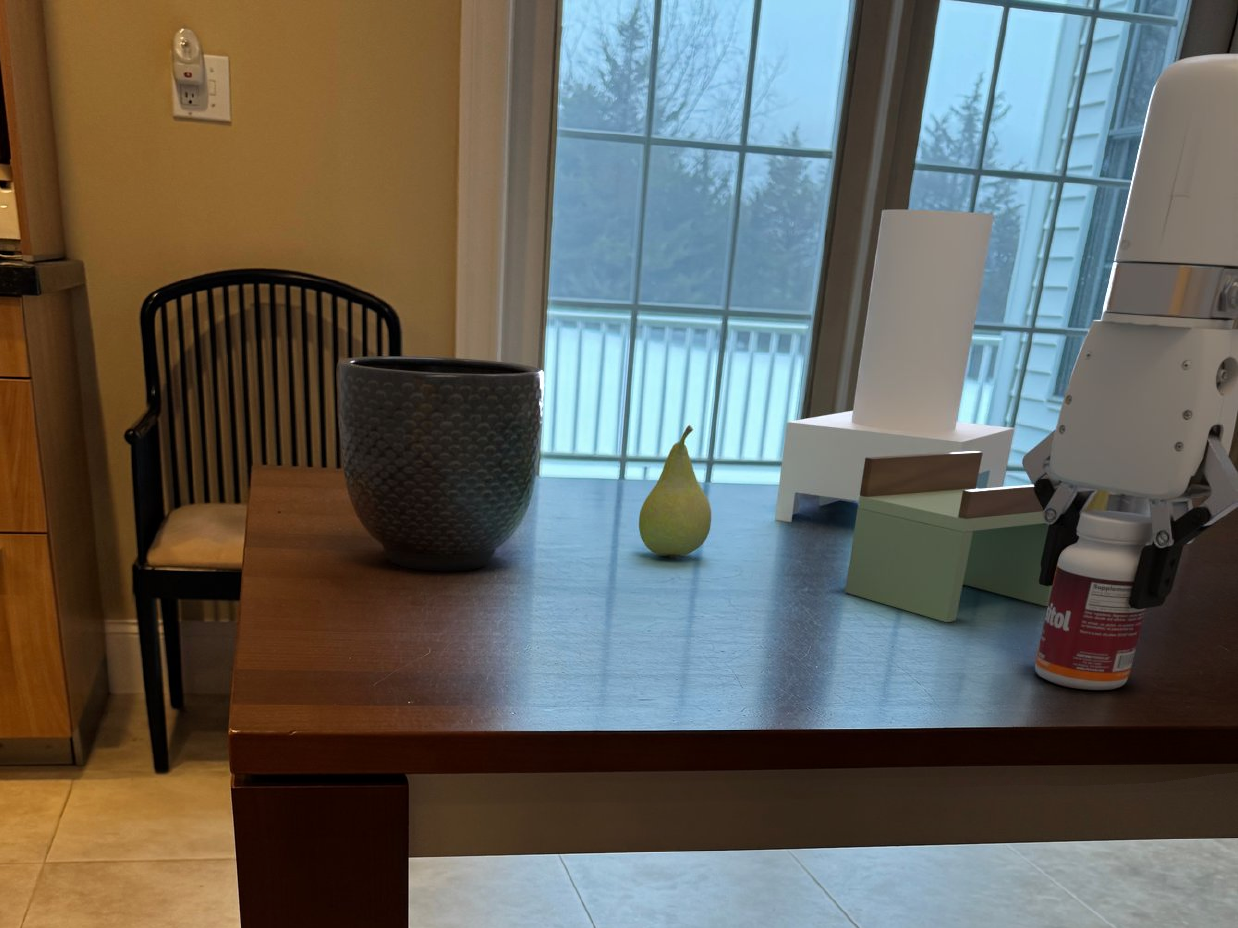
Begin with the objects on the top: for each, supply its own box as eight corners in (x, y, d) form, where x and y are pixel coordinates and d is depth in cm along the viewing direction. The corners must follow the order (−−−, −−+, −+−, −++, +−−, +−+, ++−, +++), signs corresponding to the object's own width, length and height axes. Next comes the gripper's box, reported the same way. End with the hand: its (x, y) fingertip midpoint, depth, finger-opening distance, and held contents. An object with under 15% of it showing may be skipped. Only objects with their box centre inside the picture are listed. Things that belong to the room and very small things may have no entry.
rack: (1054, 605, 110) (1085, 469, 105) (946, 622, 103) (973, 478, 98) (951, 577, 118) (975, 450, 113) (844, 592, 110) (865, 457, 105)
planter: (328, 578, 106) (322, 367, 99) (353, 537, 121) (349, 352, 114) (537, 587, 107) (546, 378, 99) (535, 545, 122) (543, 362, 115)
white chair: (774, 519, 141) (813, 205, 127) (839, 499, 155) (881, 214, 141) (943, 545, 132) (1005, 210, 118) (995, 521, 146) (1056, 220, 132)
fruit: (700, 550, 124) (714, 416, 118) (715, 567, 117) (730, 427, 111) (631, 548, 123) (641, 413, 118) (642, 565, 116) (654, 423, 111)
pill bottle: (1025, 663, 93) (1060, 504, 88) (1114, 670, 92) (1154, 511, 87) (1041, 688, 87) (1079, 520, 82) (1136, 696, 87) (1180, 527, 82)
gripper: (1345, 309, 75) (1252, 619, 83) (1085, 293, 87) (1026, 564, 95) (1277, 306, 71) (1186, 631, 79) (1015, 290, 83) (960, 573, 91)
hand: (1100, 592), depth 87 cm, fingers closed on pill bottle, 6 cm apart
